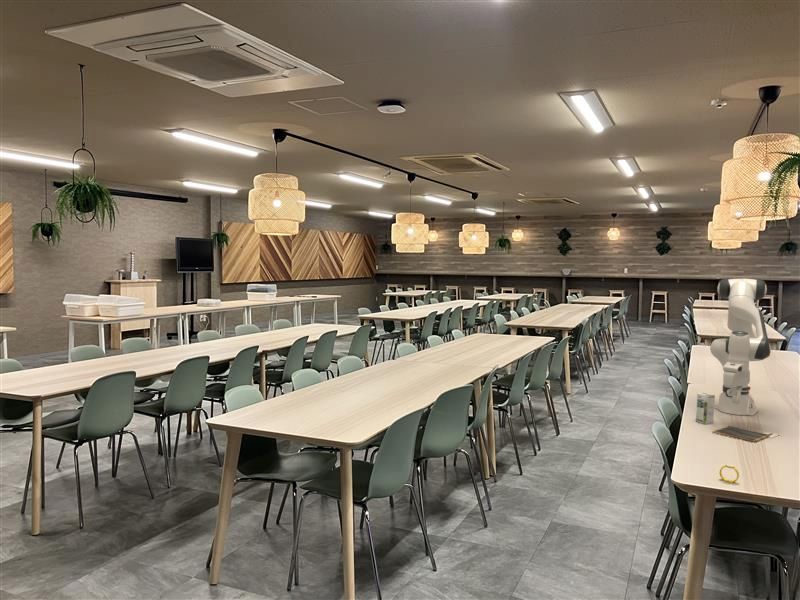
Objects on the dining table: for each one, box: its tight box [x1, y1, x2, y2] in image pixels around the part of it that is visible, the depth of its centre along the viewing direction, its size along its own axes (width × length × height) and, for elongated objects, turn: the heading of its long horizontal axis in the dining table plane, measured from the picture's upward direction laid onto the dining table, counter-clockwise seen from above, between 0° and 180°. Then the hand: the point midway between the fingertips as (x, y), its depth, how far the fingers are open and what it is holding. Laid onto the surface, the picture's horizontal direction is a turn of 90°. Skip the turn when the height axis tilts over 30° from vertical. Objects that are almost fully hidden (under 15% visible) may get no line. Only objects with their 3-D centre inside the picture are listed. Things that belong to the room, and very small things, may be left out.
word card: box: [763, 431, 779, 439], centre depth 269 cm, size 8×5×1 cm, turn 128°
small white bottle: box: [732, 386, 741, 404], centre depth 274 cm, size 3×3×8 cm
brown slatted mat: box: [712, 425, 770, 444], centre depth 269 cm, size 17×18×1 cm
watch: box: [719, 463, 740, 483], centre depth 209 cm, size 6×3×6 cm, turn 50°
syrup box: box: [695, 391, 716, 425], centre depth 289 cm, size 6×6×14 cm
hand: (736, 395), depth 274 cm, fingers closed on small white bottle, 3 cm apart
